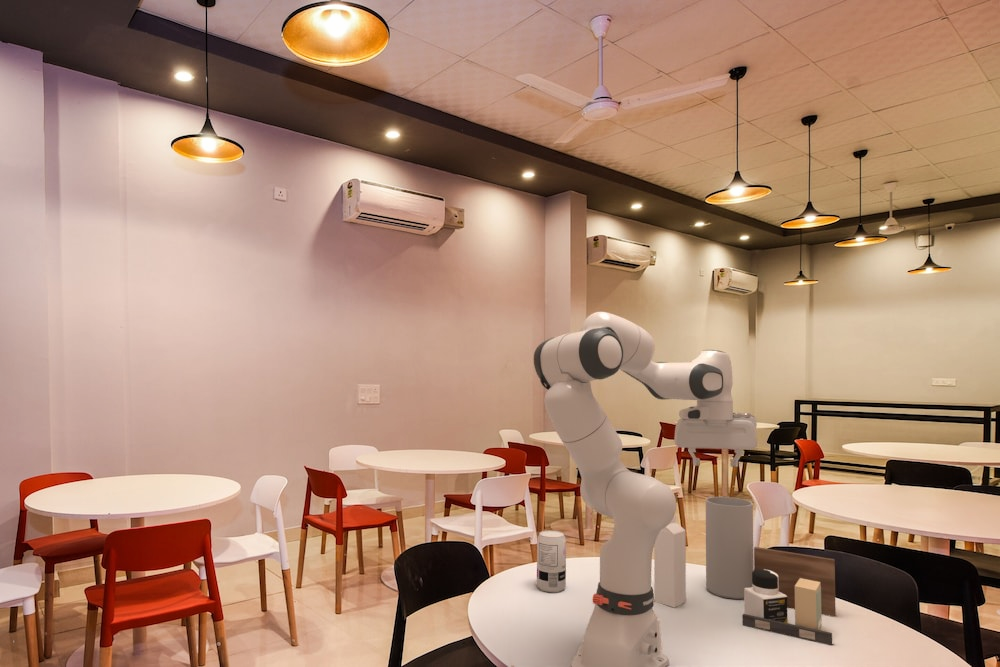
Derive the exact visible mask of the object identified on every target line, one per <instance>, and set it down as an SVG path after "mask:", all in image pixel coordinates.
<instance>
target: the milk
mask: <svg viewBox="0 0 1000 667" xmlns="http://www.w3.org/2000/svg"><path fill="white" fill-rule="evenodd" d="M686 533H687V532H686V529H684V527H682V526H681V525H680V524H679V523H678V522H677V517H676V516H674V517H673V519H672V521H671V522H670V523H669V524H668V525H667V526H666V527H665V528H663V529H662V530H661V531H660V532H659V534H658V536H657V538H656V541H655V544H654V547H653V551H654V552H653V553H654V563H653V564H654V567H653V568H654V569H653V570H654V572H653V573H654V585H653V586H654V588H653V594H654V600H653V602H656V603H659V604H662V605H665V606H668V607H671V608H676V607H678V606H681V605H682V604H685V603H686V600H687V595H686V594H687V592H686V590H687V589H686V588H687V587H686V586H687V585H686V584H687V582H686V579H687V577H686V576H687V575H686V573H687V572H686V571H687V570H686V569H687V568H686V567H687V564H686V563H687V562H686V560H687V559H686V558H687V557H686V556H687V554H686V550H687V548H686V546H687V545H686V537H687V536H686Z"/></svg>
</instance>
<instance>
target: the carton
mask: <svg viewBox="0 0 1000 667" xmlns="http://www.w3.org/2000/svg"><path fill="white" fill-rule="evenodd" d="M822 620H823V619H822V614H821V583H820V582H817V581H812V580H807V579H802V578H800V579H799V580H798V582H797V583H796V585H795V609H794V625H798V626H803V627H808V628H812V629H817V630H822Z"/></svg>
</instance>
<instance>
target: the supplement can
mask: <svg viewBox="0 0 1000 667" xmlns="http://www.w3.org/2000/svg"><path fill="white" fill-rule="evenodd" d="M536 541H537V542H536V586H537V587H538V589H539V590H540V591H542V592H546V593H559V592H562V591H564V589H565V588H566V587H567V585H566V584H567V583H566V582H567V580H566V579H567V577H566V576H567V574H566V573H567V569H566V568H567V538H566V536H565V534H564V532H562V531H559V530H550V529H549V530H542V531H540V532H539V534H538V536H537V539H536Z"/></svg>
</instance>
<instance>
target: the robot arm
mask: <svg viewBox="0 0 1000 667" xmlns="http://www.w3.org/2000/svg"><path fill="white" fill-rule="evenodd" d="M655 347H656V346H655V341H654V338H653V336H652V335H651V334H650V333H649V332H648V331H647V330H645V329H644V328H643V327H642V326H640V325H638V324H636V323H634V322H633V321H630V320H629V319H627V318H624V317H622V316H619V315H616V314H613V313H611V312H607V311H596V312H593V313H592V314H590V315H588V316H587V317H586V318H585V320H584V321H583V322H582V324H581V326H580V331H576V332H568V333H565V334H561V335H559V336H556V337H551V338H547V339H546V340H544V341H542V342H541V343H540V344H539V345H538V346H537V347H536V348H535V350H534V353H533V367H534V370H535V373H536V375H537V377H538V378H539V381H540V383H541V386H542V387H544V389H546V390H547V391H546V393H545V396H544V398H543V399H544V400H543V402H544V406H545V409H546V410H545V411H546V412H547V415H548V417H549V419H550V421H551V425H552V427H553V428H554V430H555V431H556V434H557V435H558V437H559V438H560V441H561V442H562V444H563V445H564V447H565V448H566V450H567V451H568V453H569V455H570V456H571V458H572V460H573V462H574V463H575V465H576V468H577V469H578V471H579V474H580V478H581V482H580V485H579V487H580V488H579V489H580V496H581V498H582V500H583V501H584V503H585V504H586V505H587V506H589V507H590V508H591V509H592V510H594V511H595V512H597V513H598V514H600V515H601V516H605V517H607V518H610V519H612V520H613V521H614V524H613V525H614V526H613V530H612V534H611V536H610V538H609V539H607V540H606V541H605V542H603V543H602V545H601V547H600V548H599V549H600V550H599V582H598V584H597V588H596V593H594V594H593V595H592V604H594V608H593V610H592V613H591V615H590V618H589V620H588V624H587V626H586V629H585V632H584V635H583V637H582V638H583V639H582V642H581V645H580V646H579V648H578V649H577V652H576V654H575V656H574V658H573V660H572V661H571V664H570V667H667V666H668V665H669V664H670V661H669V657H668V656H667V655H665V654H664V653H663V651H662V649H663V648H662V632H661V630H662V629H661V621H660V619H659V618H658V616H657V615H656V613H655V611H654V608H653V607H654V588H653V586H652V568H653V567H652V562H653V553H654V552H653V551H654V544H655V541H656V538H657V536H658V534H659V532H660V531H661V530H662V529H663V528H665V527H666V526H667V525H668V524H669V523H670V522H671V521H672V519H673V517H675V515H676V511H677V498H676V495H675V494H674V491H673V490H672V488H670V486H668V485H667V484H665V483H664V482H662V481H660V480H659V479H657V478H655V477H653V476H650V475H646V474H642V473H638V472H634V471H631V470H629V469H628V468H627V467H626V466H625V465H624V463H623V461H622V460H621V457H620V456H621V453H622V451H623V442H622V439H621V437H620V436H619V435H618V432H617V431H616V430H615V427H614V426H613V425H612V423H611V421H610V418H608V416H607V414H606V413H605V411H604V408H602V405H600V403H599V401H598V400H597V399H596V397H594V394H593V391H592V384H591V382H593V381H596V380H598V381H600V380H604V379H608V378H609V377H612V376H614V375H615V374H617V373H618V371H619V370H620V371H622V372H623V373H625V374H626V375H628V376H630V377H631V378H633V379H635V380H636V381H638V382H640V384H641V385H643V386H644V387H645V388H646V389H647V390H648V392H649V393H650V394H651V395H652V396H653V397H654V398H656V399H658V400H662V401H663V400H682V401H683V400H684V401H696V405H693V406H690V407H685V408H682V409H680V410H679V412H678V414H679V415H678V416H679V418H680V419H678V420H677V421H676V424H675V429H674V438H673V439H674V441H673V442H674V444H675V445H676V447H678V448H687V450H688V453H689V454H690V456H691V458H692V466H698V467H699V466H701V459H700V458H699V457H696V455H695V453H696V449H718V450H719V449H720V450H724V449H725V450H734V453H735V455H734V457H733V459H732V458H731V459H730V460H729V462H730V463H729V465H730V467H731V468H738V467H739V460H740V458H742V455H743V450H749V451H750V450H753V451H754V450H755V449H756V448H757V447H758V442H757V441H758V440H757V432H756V429H757V427H758V426H757V423H758V422H757V418H756V417H755V415H753V414H751V413H747V412H745V413H741V412H734V406H733V405H734V403H733V397H732V387H733V370H732V369H733V367H732V362H731V358H730V355H729V354H728V353H727V352H724V351H721V350H715V349H703V350H701V351H699V354H698V356H697V357H696V358H694V359H692V360H690V361H686V362H683V361H682V362H681V361H680V362H668V361H653V358H654V356H655V350H656V349H655Z"/></svg>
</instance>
